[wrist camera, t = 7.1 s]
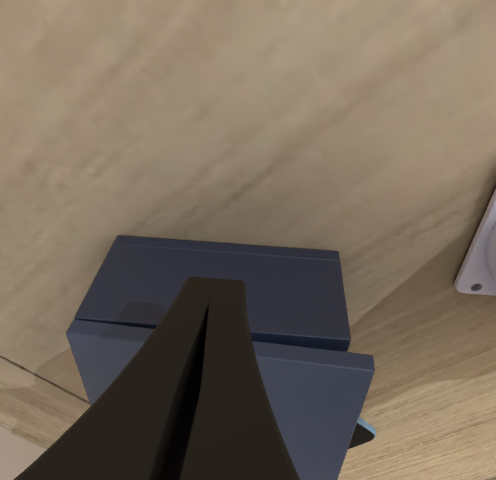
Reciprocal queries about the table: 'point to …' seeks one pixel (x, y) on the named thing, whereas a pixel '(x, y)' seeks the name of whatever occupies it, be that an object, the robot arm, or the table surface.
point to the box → (225, 267)
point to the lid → (275, 382)
